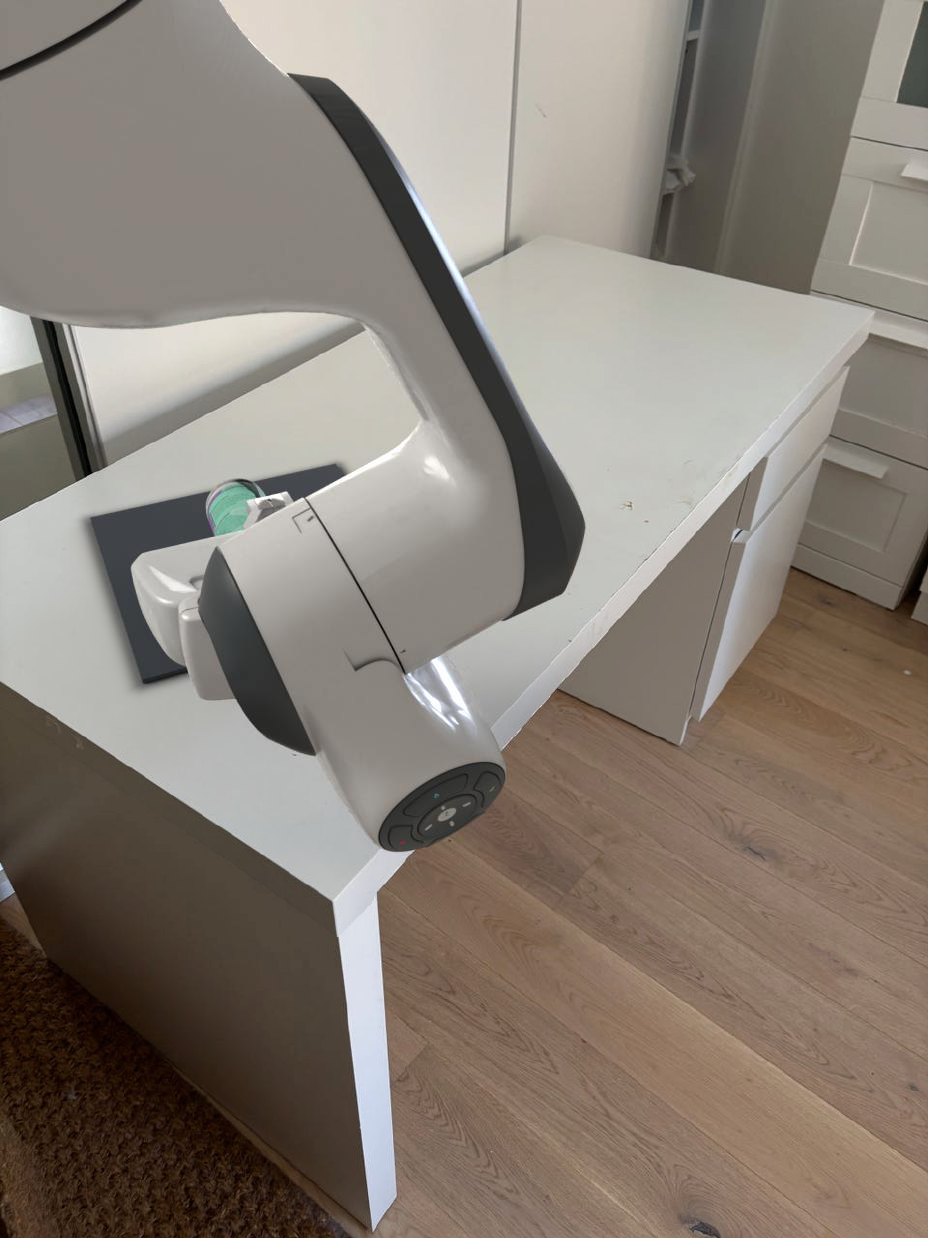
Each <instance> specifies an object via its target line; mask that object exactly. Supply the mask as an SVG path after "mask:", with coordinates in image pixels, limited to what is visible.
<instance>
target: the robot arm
mask: <svg viewBox="0 0 928 1238" xmlns="http://www.w3.org/2000/svg"><path fill="white" fill-rule="evenodd" d="M0 306H1V307H3V308H5V309H8V310H11V311H13V312H16V313H19V314H22V315H26V316H29V317H33V318H35V319H41V320H44V321H49V322H53V323H57V324H63V325H68V326H75V327H81V328H93V329H101V330H102V329H103V330H104V329H105V330H107V329H108V330H151V329H161V328H170V327H176V326H182V325H187V324H192V323H199V322H205V321H212V320H219V319H225V318H232V317H242V316H243V317H244V316H251V315H263V314H264V315H265V314H267V315H268V314H286V313H287V314H288V313H289V314H293V313H294V314H296V313H297V314H298V313H300V314H301V313H307V314H324V315H325V314H326V315H331V316H332V315H333V316H339V317H342V318H347V319H351V320H353V321H356V322H358V323H360V324H361V325H362V327H363V328H364V330H365V332H366V333H367V334H368V336H369V338H370V339H371V341H372V342H373V344H374V346H375V347H376V349H377V350H378V352H379V354H380V356H381V357H382V359H383V360H384V362H385V364H386V365H387V366H388V368H389V370H390V371H391V373H392V374H393V376H394V378H395V379H396V381H397V382H398V384H399V386H400V387H401V389H402V390H403V392H404V394H405V395H406V398H407V399H408V400H409V402H410V404H411V406H412V407H413V408H414V410H415V412H416V413H417V414H418V417H419V420H418V422H417V424H416V426H415V428H414V429H413V430H412V431H411V433H410V434H409V435H408V436H407V437H406V438H405V439H404V440H403V441H401V443H400V444H398V445H397V446H396V447H395V448H393V449H391V450H390V451H388V452H386V453H385V454H383V455H381V456H379V457H378V458H376V459H374V460H372V461H370V462H368V463H366V464H365V465H362V466H360V467H359V468H357V469H355V470H354V471H351V472H349V473H348V474H346V475H344V477H342V478H341V479H339V480H337V481H335V482H333V483H331V484H330V485H328V486H326V487H324V488H322V489H320V490H319V491H317V492H315V493H313V494H311V495H309V496H307V497H306V498H305V499H304V498H301V499H299V500H297V501H295V502H293V500H292V499H291V497H290V495H289V494H288V492H282V493H279V494H275V495H271V496H265V497H260V498H255V499H250V500H246V509H247V516H248V518H247V520H246V521H245V523H244V525H243V530H241V531H237V532H232V533H228V534H224V535H219V536H215V537H210V538H206V539H202V540H197V541H193V542H189V543H184V544H180V545H176V546H171V547H167V548H163V549H158V550H153V551H149V552H145V553H143V554H141V555H140V556H139V557H138V558H137V559H136V560H135V561H134V563H133V564H132V566H131V572H132V577H133V582H134V586H135V590H136V594H137V597H138V601H139V604H140V607H141V610H142V612H143V615H144V617H145V619H146V622H147V624H148V625H149V627H150V629H151V631H152V633H153V635H154V636H155V638H156V640H157V641H158V643H159V644H160V646H161V647H162V649H163V650H164V651H165V653H166V654H167V655H168V656H169V657H170V658H171V659H172V660H173V661H175V662H176V663H178V664H180V665H183V666H186V667H187V670H188V671H187V673H188V675H189V678H190V681H191V684H192V686H193V689H194V691H195V693H196V695H197V696H198V697H199V698H200V699H202V700H205V701H227V700H236V702H237V705H238V706H239V708H240V709H241V711H242V712H243V714H244V715H245V717H246V718H247V719H248V721H249V722H250V723H251V725H252V726H253V727H254V728H255V730H257V731H258V733H260V734H261V735H262V736H263V737H265V738H266V739H267V740H268V741H271V742H274V743H275V744H278V745H280V746H283V747H285V748H287V749H289V750H292V751H294V752H297V753H300V754H303V755H307V756H312V757H315V758H316V759H317V762H318V763H319V765H320V767H321V768H322V771H323V773H324V774H325V776H326V778H327V779H328V781H329V783H330V785H331V786H332V788H333V790H334V791H335V792H336V794H337V796H338V798H339V799H340V800H341V801H342V803H343V805H344V807H345V808H346V809H347V810H348V812H349V813H350V815H351V816H352V817H353V819H354V821H355V822H356V823H357V825H359V827H360V828H361V829H362V831H363V832H364V833H365V835H366V836H367V838H369V839H370V841H371V842H372V843H373V844H374V845H375V846H377V847H378V848H380V849H381V850H383V851H387V852H391V853H405V852H412V851H416V850H420V849H424V848H425V849H427V848H429V847H431V846H433V845H436V844H437V843H440V842H441V841H444V840H445V839H447V838H448V837H450V836H452V835H454V834H455V833H457V832H458V831H460V830H462V829H463V828H465V827H467V826H468V825H470V824H471V823H473V822H475V820H477V819H478V818H479V817H481V816H482V815H483V814H485V813H486V811H487V810H488V808H490V806H491V805H492V804H493V803H494V801H495V800H496V799H497V797H498V796H499V795H500V794H501V792H502V790H503V787H504V785H505V783H506V780H507V772H508V770H507V766H506V761H505V759H504V758H505V757H504V756H503V754H502V751H501V749H500V745H499V744H498V741H497V739H496V737H495V735H494V732H493V730H492V728H491V727H490V726H491V725H490V724H489V722H488V720H487V718H486V716H485V714H484V711H483V710H482V708H481V706H480V704H479V702H478V701H477V698H476V697H475V695H474V694H473V692H472V690H471V688H470V686H469V685H468V683H467V682H466V680H465V678H464V677H463V675H462V674H461V672H460V670H459V669H458V668H457V666H456V665H455V663H454V661H453V660H452V659H451V657H450V656H449V655H448V652H449V651H451V650H453V649H454V648H456V647H458V646H460V645H462V644H463V643H464V642H467V641H468V640H470V639H472V638H473V637H475V636H477V635H479V634H480V633H482V632H484V631H485V630H487V629H489V628H491V627H492V626H494V625H496V624H498V623H500V622H505V621H509V620H510V619H512V618H514V617H517V616H519V615H521V614H523V613H526V612H527V611H529V610H531V609H534V608H536V607H538V606H540V605H542V604H544V603H547V602H548V601H551V600H553V599H555V598H557V597H559V596H561V595H563V594H564V593H565V591H566V590H567V587H568V586H569V583H570V581H571V579H572V576H573V575H574V572H575V569H576V566H577V564H578V561H579V557H580V554H581V551H582V548H583V543H584V538H585V533H586V528H587V527H586V521H585V517H584V514H583V512H582V509H581V506H580V502H579V499H578V496H577V493H576V491H575V488H574V486H573V484H572V481H571V480H570V478H569V476H568V474H567V472H566V471H565V469H564V467H563V465H562V463H561V462H560V461H559V459H558V458H557V457H556V455H555V454H554V452H553V451H552V450H551V448H550V447H549V446H548V444H547V443H546V442H545V441H544V438H543V437H542V434H540V432H539V430H538V428H537V427H536V425H535V423H534V421H533V419H532V417H531V416H530V413H529V412H528V410H527V408H526V406H525V404H524V402H523V400H522V397H521V396H520V394H519V391H518V390H517V388H516V386H515V385H516V384H515V383H514V381H513V379H512V377H511V375H510V373H509V370H508V369H507V367H506V365H505V362H504V360H503V358H502V356H501V355H500V352H499V351H498V348H497V346H496V344H495V342H494V340H493V338H492V336H491V334H490V332H489V330H488V328H487V326H486V324H485V321H484V319H483V317H482V315H481V313H480V311H479V309H478V307H477V305H476V303H475V301H474V298H473V297H472V294H471V293H470V290H469V289H468V286H467V285H466V282H465V280H464V279H463V276H462V274H461V272H460V270H459V268H458V266H457V264H456V262H455V261H454V258H453V256H452V254H451V253H450V250H449V248H448V246H447V245H446V243H445V241H444V239H443V237H442V235H441V234H440V232H439V230H438V228H437V226H436V224H435V223H434V220H433V218H432V217H431V215H430V212H429V211H428V209H427V206H426V205H425V204H424V202H423V200H422V197H421V196H420V194H419V192H418V190H417V188H416V187H415V184H414V182H413V181H412V180H411V178H410V177H409V174H408V173H407V171H406V169H405V168H404V166H403V164H402V163H401V161H400V159H399V158H398V156H397V155H396V154H395V152H394V150H393V148H392V147H391V146H390V144H389V142H387V140H386V139H385V137H384V136H383V134H382V133H381V132H380V130H379V128H378V127H377V126H376V125H375V123H373V121H372V120H371V119H370V118H369V117H368V115H367V114H366V113H365V112H364V111H363V110H362V108H361V107H360V106H359V105H358V104H357V102H355V101H354V100H353V99H352V97H350V95H348V94H347V92H345V91H344V90H343V89H342V88H341V87H340V86H339V85H338V84H337V83H336V82H334V81H332V79H329V78H328V77H324V76H323V77H322V76H314V75H306V74H300V73H294V72H293V73H292V72H285V71H284V70H283V69H281V68H280V67H278V66H277V65H276V64H275V63H274V62H273V61H272V60H270V59H269V58H268V57H267V56H266V55H264V53H263V52H261V50H260V49H258V47H257V46H256V45H255V44H254V43H253V41H252V40H251V39H250V38H248V37H247V35H246V34H245V33H244V32H243V30H242V29H241V28H240V27H239V25H238V24H237V23H236V21H235V20H234V19H233V18H232V16H231V15H230V13H229V11H228V10H227V9H226V7H225V6H224V4H223V2H222V1H221V0H0ZM305 500H306V501H305Z"/></svg>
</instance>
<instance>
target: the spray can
mask: <svg viewBox="0 0 928 1238" xmlns="http://www.w3.org/2000/svg"><path fill="white" fill-rule="evenodd" d="M253 482H254V481H251V480H249V479H246V478H239V477H238V478H230V479H226V480H224V481H222V482H220V483H218V484H217V485H216V486H215V487H213V488H212V490H210V491H211V492H210V494H209V496H208V498H207V501H206V513H207V518H208V521H209V523H210V526H211V529H212V531H213V534H214V536H219V535H224V534H228V533H232V532H237V531H241V530H243V525H244V523H245V521H246V520H247V518H248V516H247V509H246V500H250V499H255V498H260V497H265V494H264V493H263V491H262V490H261V489H260V487H259V486H257V485H256V484H255V483H253Z"/></svg>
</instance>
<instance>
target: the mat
mask: <svg viewBox="0 0 928 1238" xmlns="http://www.w3.org/2000/svg"><path fill="white" fill-rule="evenodd" d="M344 476H345V474H343V472H342V471H341V469H340V468H339V466H338V465H337V463H332V464H327V465H322V466H317V467H313V468H309V469H305V470H304V469H303V470H300V471H295V472H291V473H286V474H282V475H276V476H273V477H269V478H263V479H259V480H254V481H252V482H253V483H255V484H256V485H257V486H259V487H260V489H261V490H262V491H263V493H264V494H265V496H271V495H275V494H279V493H282V492H288V494H289V495H290V497H291V499H292V500H293V502H295V501H297V500H299V499H301V498H304V499H305V498H306V497H307V496H309V495H311V494H313V493H315V492H317V491H319V490H320V489H322V488H324V487H326V486H328V485H330V484H331V483H333V482H335V481H337V480H339V479H341V478H342V477H344ZM211 491H212V490H209V491H204V492H199V493H195V494H191V495H187V496H181V497H177V498H173V499H168V500H163V501H158V502H153V503H150V504H143V505H140V506H136V507H131V508H127V509H122V510H117V511H112V512H108V513H105V514H104V513H103V514H99V515H94V516H91V517H89V519H90V522H91V525H92V529H93V532H94V535H95V538H96V541H97V544H98V547H99V550H100V554H101V558H102V560H103V563H104V567H105V570H106V572H107V575H108V578H109V583H110V585H111V588H112V591H113V595H114V598H115V600H116V605H117V606H118V610H119V613H120V616H121V619H122V622H123V626H124V629H125V632H126V635H127V639H128V641H129V644H130V648H131V650H132V651H131V652H132V653H133V657H134V660H135V664H136V665H137V669H138V672H139V676H140V679H141V682H142V684H146V683H150V682H154V681H157V680H160V679H163V678H167V677H168V678H169V677H171V676H174V675H178V674H183V673H185V672H188V670H187V667H186V666H183V665H180V664H178V663H176V662H175V661H173V660H172V659H171V658H170V657H169V656H168V655H167V654H166V653H165V651H164V650H163V649H162V647H161V646H160V644H159V643H158V641H157V640H156V638H155V636H154V635H153V633H152V631H151V629H150V627H149V625H148V624H147V622H146V619H145V617H144V615H143V612H142V610H141V607H140V604H139V601H138V597H137V594H136V590H135V586H134V582H133V577H132V572H131V566H132V564H133V563H134V561H135V560H136V559H137V558H138V557H139V556H140V555H141V554H143V553H145V552H149V551H153V550H158V549H163V548H167V547H171V546H176V545H180V544H184V543H189V542H193V541H197V540H202V539H206V538H210V537H215V536H214V534H213V531H212V529H211V526H210V523H209V521H208V518H207V513H206V501H207V498H208V496H209V494H210V492H211ZM305 501H306V500H305Z"/></svg>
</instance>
